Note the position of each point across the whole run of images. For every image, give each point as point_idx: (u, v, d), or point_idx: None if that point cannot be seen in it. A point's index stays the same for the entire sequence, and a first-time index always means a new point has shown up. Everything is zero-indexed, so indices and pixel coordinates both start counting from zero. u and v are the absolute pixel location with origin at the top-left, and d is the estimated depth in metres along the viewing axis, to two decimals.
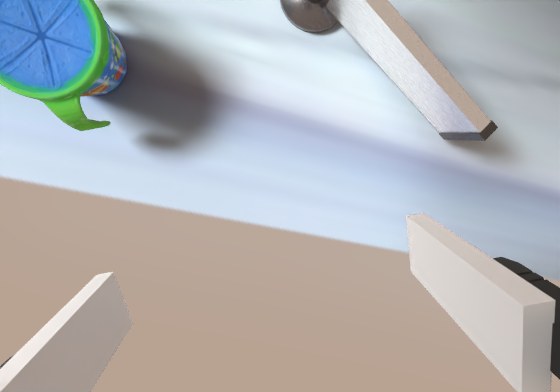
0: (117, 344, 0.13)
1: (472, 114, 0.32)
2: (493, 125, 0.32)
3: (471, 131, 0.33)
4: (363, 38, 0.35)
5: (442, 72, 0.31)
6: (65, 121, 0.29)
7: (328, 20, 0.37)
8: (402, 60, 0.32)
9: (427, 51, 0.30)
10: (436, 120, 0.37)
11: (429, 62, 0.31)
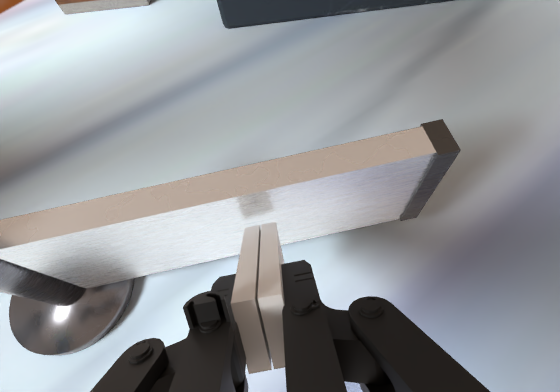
0: None
1: (386, 150, 0.14)
2: (433, 124, 0.15)
3: (424, 167, 0.15)
4: (157, 262, 0.18)
5: (269, 168, 0.14)
6: None
7: (114, 294, 0.21)
8: (213, 224, 0.16)
9: (213, 177, 0.14)
10: (371, 215, 0.19)
11: (234, 183, 0.14)
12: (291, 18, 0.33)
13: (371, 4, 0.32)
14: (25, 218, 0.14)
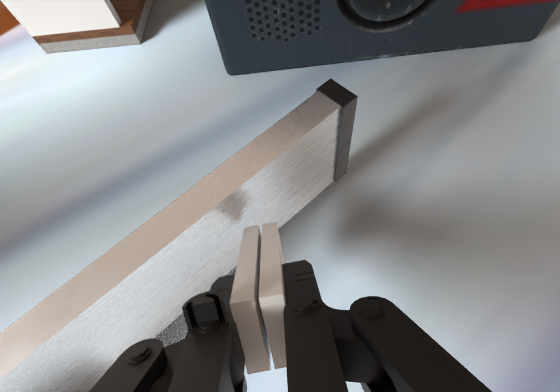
0: None
1: (301, 122, 0.15)
2: (326, 85, 0.16)
3: (337, 123, 0.16)
4: (133, 340, 0.16)
5: (207, 185, 0.14)
6: None
7: None
8: (177, 267, 0.15)
9: (156, 220, 0.13)
10: (311, 188, 0.20)
11: (181, 215, 0.13)
12: (304, 65, 0.29)
13: (395, 50, 0.28)
14: None
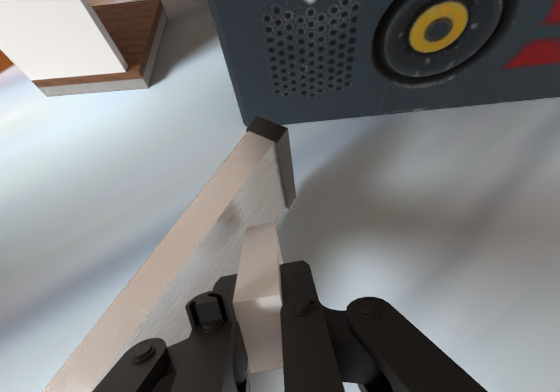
0: None
1: (240, 167, 0.15)
2: (254, 124, 0.16)
3: (275, 158, 0.16)
4: None
5: (158, 260, 0.13)
6: None
7: None
8: None
9: (110, 315, 0.12)
10: (266, 223, 0.19)
11: (136, 301, 0.12)
12: (329, 118, 0.27)
13: (431, 104, 0.26)
14: None
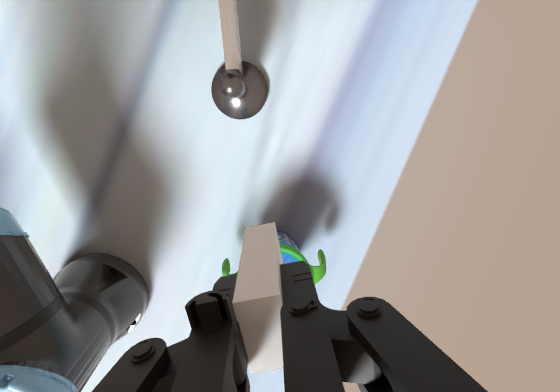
0: None
1: None
2: None
3: None
4: None
5: None
6: (323, 276, 0.46)
7: (260, 81, 0.46)
8: None
9: None
10: None
11: None
12: None
13: None
14: (225, 55, 0.37)
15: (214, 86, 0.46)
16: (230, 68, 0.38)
